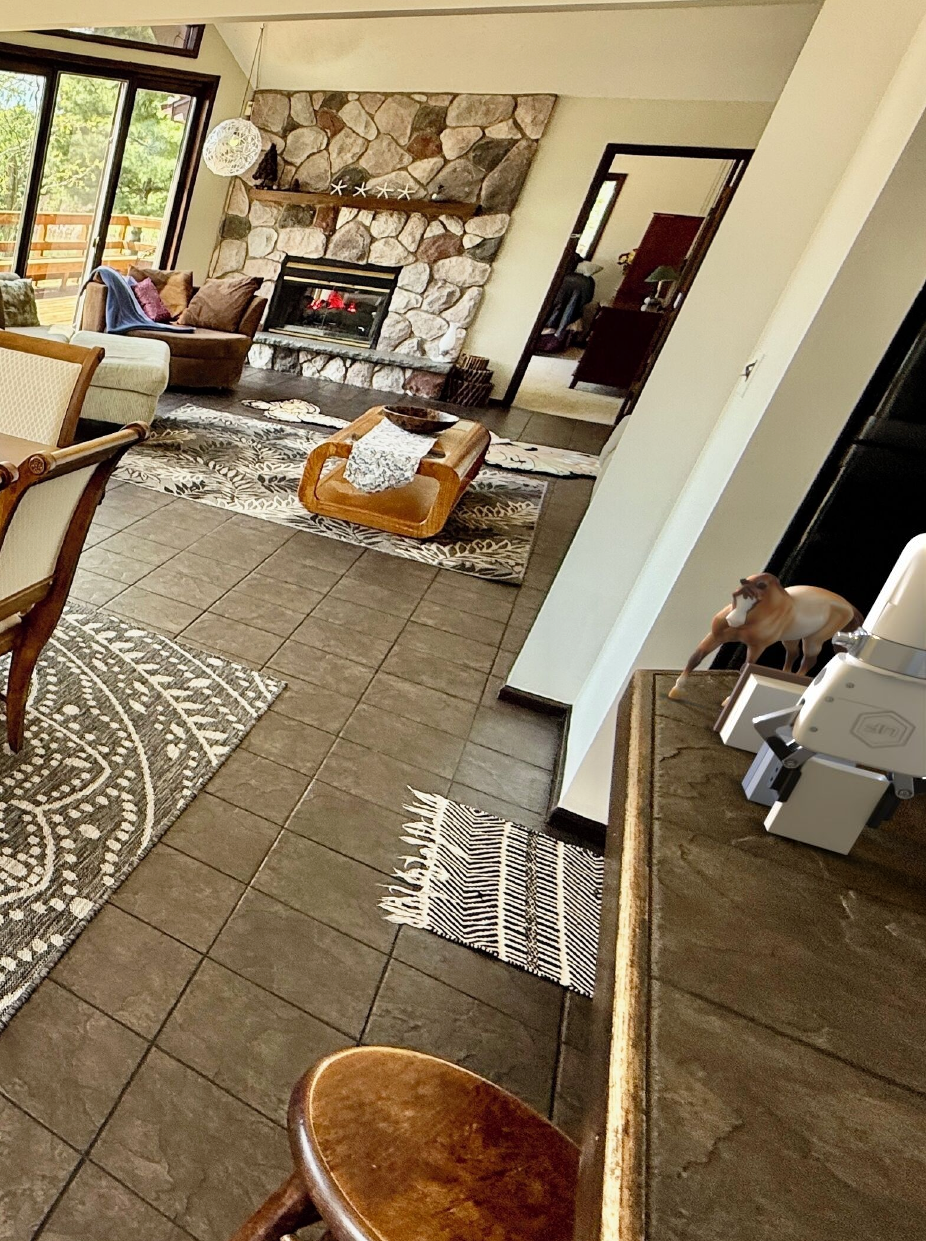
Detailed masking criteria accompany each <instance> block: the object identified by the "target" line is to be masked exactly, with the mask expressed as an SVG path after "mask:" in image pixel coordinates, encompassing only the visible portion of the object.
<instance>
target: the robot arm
mask: <svg viewBox="0 0 926 1241" xmlns="http://www.w3.org/2000/svg"><path fill="white" fill-rule="evenodd" d="M864 621H865V622H864V624H863V626H862V627H858V629H857V631H854V632H853V633H851V632H848V633H844V632H839V631H837V632H836V633H835V635H834V637H833V639H832V638H831V644H832V643H833V644H838V645H842V647H846V648H847V650H848V653H838V654H837V655H836V654H835V656H833V657H832V659H830V660H829V662H827V664H826V665H825V666H824V667H823V668H822V669H821V671H820V672H819V673H818V674H817V675H816V676H815V677H814V678H815V679H814V680H813V682H812V683H811V684H810V686H809V687H808V688H807V690H806V691H805V693H804V694H803V696H802V697H801V699H800V700H799V702H798V703H797V705H796V706H793V707H790V708H787V709H783V710H780V711H776V712H773V713H770V714H766V715H763V716H759V717H756V718H753V719H752V721H751V722H752V724H753V726H754V728H755V729H756V730H757V732H758V733H759V734H760V736H761V737H762V738H763V739H764V740H765V742H766V743H767V744H768V746H769V747H770V748H771V750H772V751H773V752H774V754H775V755H776V756H777V757H778V759H779V761H778V763H777V765H776V766H775V768H774V770H773V772H772V774H771V776H770V777H769V779H768V782H767V787H768V788H769V789H771V792H772V794H773V796H774V799H775V801H778V802H781V803H784V802H787V800H788V799H789V797H790V795H791V793H792V791H793V790H794V788H795V786H796V784H797V783H798V781H799V779H800V777H801V775H802V772H801V771H800V770H799V768H800V766H801V764H803V763H804V762H806V761H807V760H808V759H810V758H811V757H813V756H814V755H816V754H817V753H819V754H823V755H826V756H830V757H834V758H838V759H842V760H846V761H849V762H853V763H857V765H861V766H865V767H869V768H873V769H877V770H881V771H885V777H886V778H887V780H888V781H889V782H890V784H889V786H888V787H887V789H886V791H885V792H884V794H883V796H882V797H881V799H880V801H879V802H878V804H877V806H876V807H875V809H874V811H873V812H872V814H871V816H870V817H869V819H868V821H867V822H866V824H865V826H867V828H869V829H873V830H878V829H879V828H880V826H881V824H882V822H883V821H884V822H890V821H891V819H892V818H893V816H894V815H895V813H896V812H897V810H898V808H899V807H900V805H901V803H902V802H903V801H904V800H909V799H912V798H914V796H915V795H920V794H924V793H926V532H925V533H920V534H918V535H916V536H915V537H913V538H911V539H910V541H909V542H908V543H907V544H906V546H905V547H904V549H903V550H902V552H901V554H900V555H899V558H898V559H897V561H896V563H895V565H894V566H893V568H892V571H891V572H890V574H889V576H888V578H887V580H886V582H885V583H884V585H883V587H882V589H881V590H880V593H879V594H878V596H877V598H876V600H875V602H874V604H873V605H872V607H871V609H870V611H869V612H868V614H867V616H866V618H865V619H864ZM833 644H832V645H833ZM786 725H787V728H788V729H789V730H790V731H791V732H792V737H793V740H792V741H790V742H789V743H787V744H786V743H785V742H784V741H783V739H782V738H781V737H780V736H779V734H778V733H777V732H776V729H777V728H779V727H782V726H786Z"/></svg>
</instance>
